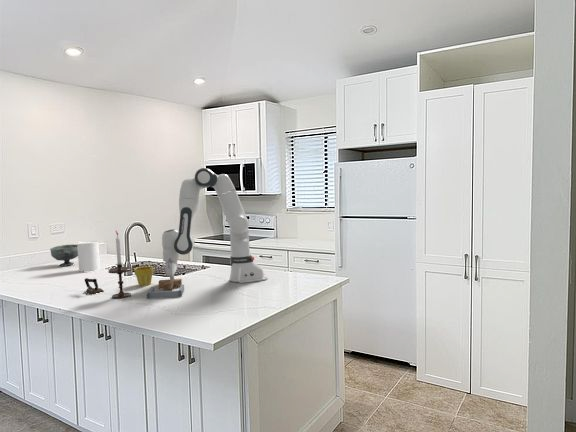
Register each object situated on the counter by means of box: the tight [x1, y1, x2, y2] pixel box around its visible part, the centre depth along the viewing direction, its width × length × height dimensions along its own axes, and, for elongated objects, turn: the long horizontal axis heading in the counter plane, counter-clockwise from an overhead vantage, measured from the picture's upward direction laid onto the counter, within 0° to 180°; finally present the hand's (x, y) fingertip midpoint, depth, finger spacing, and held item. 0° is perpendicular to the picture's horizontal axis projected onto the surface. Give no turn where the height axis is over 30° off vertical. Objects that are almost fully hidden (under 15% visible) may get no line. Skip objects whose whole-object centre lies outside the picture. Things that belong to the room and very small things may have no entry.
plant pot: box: [134, 266, 154, 287], centre depth 241 cm, size 10×10×10 cm
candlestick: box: [108, 230, 132, 300], centre depth 214 cm, size 11×11×35 cm
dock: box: [146, 284, 185, 300], centre depth 216 cm, size 17×14×3 cm
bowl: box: [49, 244, 78, 267], centre depth 316 cm, size 20×19×15 cm
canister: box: [76, 240, 101, 272], centre depth 292 cm, size 14×14×20 cm
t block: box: [158, 278, 183, 291], centre depth 228 cm, size 12×12×4 cm
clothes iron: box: [84, 277, 105, 295], centre depth 227 cm, size 7×11×10 cm, turn 57°
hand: (172, 281), depth 240 cm, fingers closed
